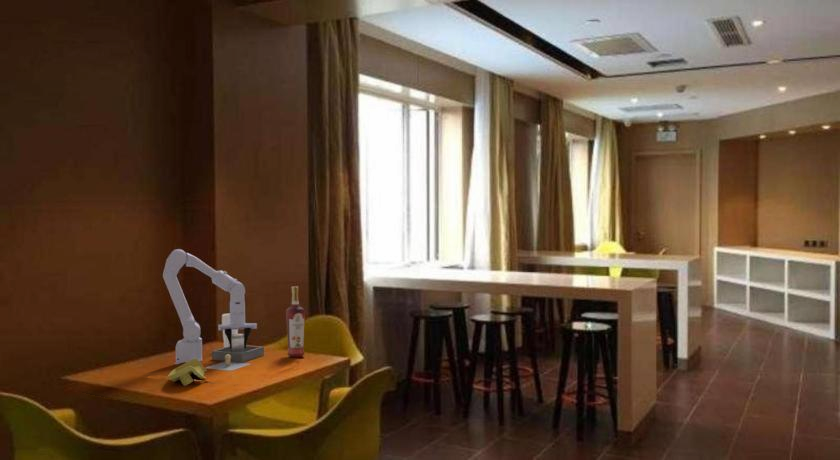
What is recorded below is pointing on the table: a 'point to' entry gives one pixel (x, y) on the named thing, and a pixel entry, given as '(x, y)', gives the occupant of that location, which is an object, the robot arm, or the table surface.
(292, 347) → the liquor
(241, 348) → the light grey block
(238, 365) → the base
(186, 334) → the robot arm
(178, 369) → the plastic component
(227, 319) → the drinking glass
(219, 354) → the bin
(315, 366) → the table surface
